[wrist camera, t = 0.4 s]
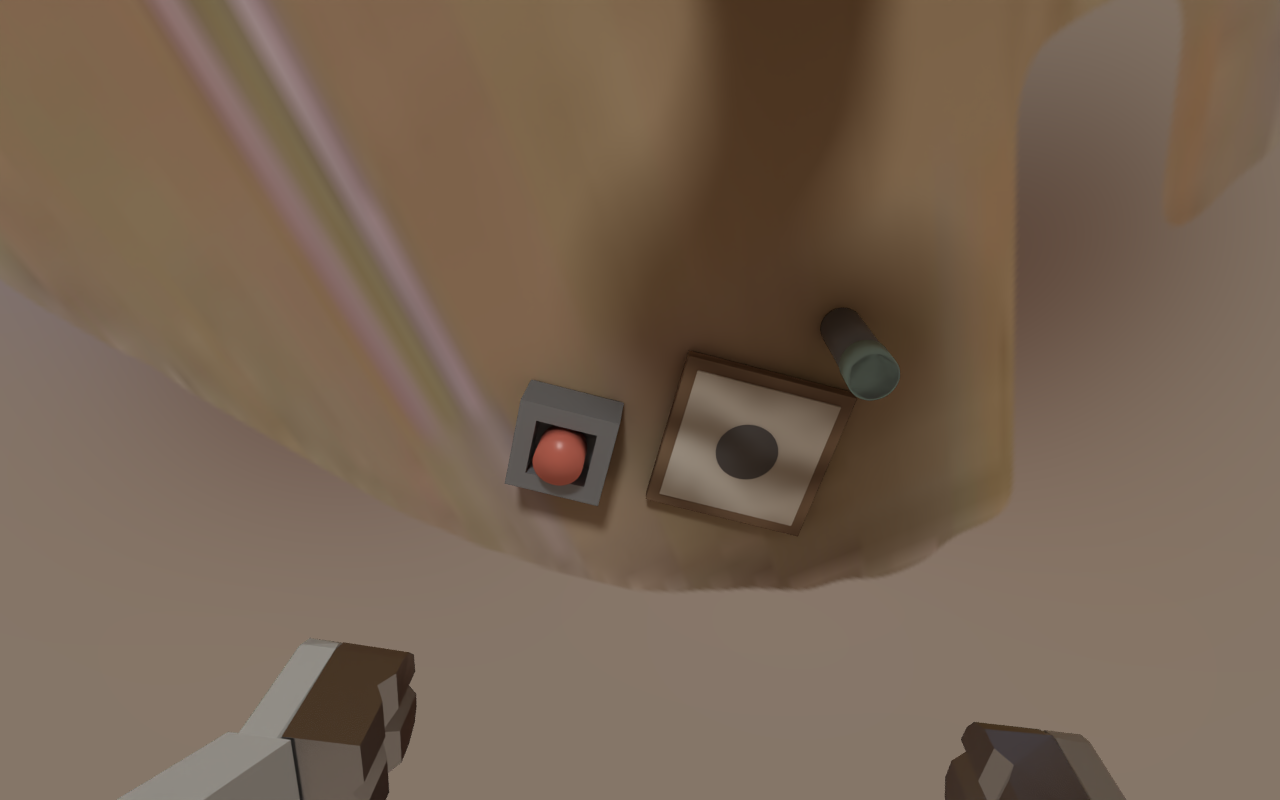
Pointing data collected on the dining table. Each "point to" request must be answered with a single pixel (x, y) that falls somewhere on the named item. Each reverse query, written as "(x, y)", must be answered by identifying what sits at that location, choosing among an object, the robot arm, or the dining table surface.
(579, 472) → the button
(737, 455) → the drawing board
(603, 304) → the dining table surface
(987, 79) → the dining table surface
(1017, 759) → the robot arm
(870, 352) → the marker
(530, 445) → the button housing
